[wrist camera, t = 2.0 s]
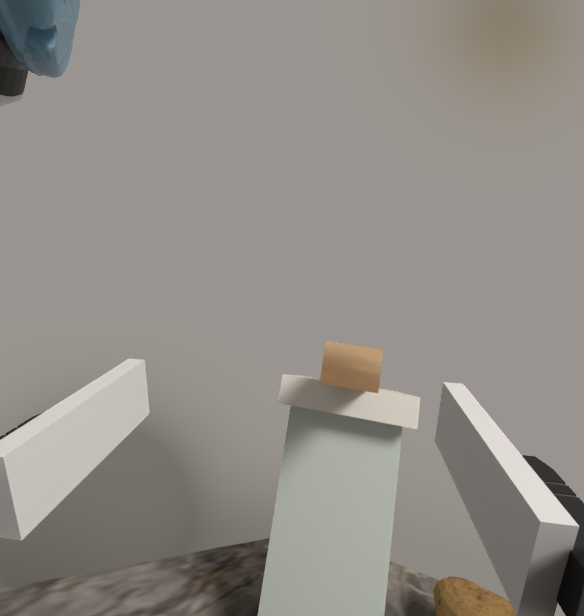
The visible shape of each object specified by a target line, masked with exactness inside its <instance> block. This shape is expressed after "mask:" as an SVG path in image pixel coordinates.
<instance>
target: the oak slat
mask: <svg viewBox="0 0 584 616" xmlns="http://www.w3.org/2000/svg"><path fill="white" fill-rule="evenodd" d="M382 355H383V349H377V348H370V347H363V346H357V345H350V344H343V343H336V342H329V341H326V344H325V351H324V357H323V365H322V371H321V378H320V383H321V384H326V385H332V386H338V387H344V388H350V389H355V390H361V391H367V392H373V393H378V391H379V382H380V373H381V364H382Z"/></svg>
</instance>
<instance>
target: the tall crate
mask: <svg viewBox="0 0 584 616" xmlns="http://www.w3.org/2000/svg"><path fill="white" fill-rule="evenodd" d="M278 403H281V404H287V405H291V408H290V415H289V421H288V427H287V433H286V440H285V446H284V452H283V459H282V465H281V471H280V477H279V484H278V490H277V496H276V502H275V509H274V515H273V521H272V528H271V535H270V540H269V546H268V553H267V559H266V565H265V572H264V578H263V584H262V591H261V597H260V603H259V609H258V616H384V612H385V602H386V591H387V581H388V570H389V560H390V550H391V539H392V528H393V518H394V508H395V497H396V487H397V476H398V467H399V456H400V446H401V435H402V426H403V427H408V428H414V429H417V428H418V417H419V406H420V397H415V396H412V395H408V394H404V393H400V392H396V391H391V390H385V389H379V391H378V393H373V392H367V391H361V390H355V389H350V388H344V387H338V386H332V385H326V384H321V383H320V378H314V377H309V376H299V375H286V374H283V376H282V382H281V388H280V394H279V400H278Z"/></svg>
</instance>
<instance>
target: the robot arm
mask: <svg viewBox="0 0 584 616" xmlns="http://www.w3.org/2000/svg"><path fill="white" fill-rule="evenodd" d="M79 6H80V0H0V106H1V105H5V104H8V103H12V102H15V101H19V100H20V99H21V98H22V97H23V92H24V88H25V83H26V79H27V74H28V70H29V71H31V72H32V73H35V74H37V75H38V76H42V75H46V76H49V77H53V78H55V77H59V76H61V75H62V74H63V72H64V71H65V69H66V67H67V65H68V62H69V58H70V55H71V51H72V42H73V37H74V30H75V25H76V22H77V19H78V13H79ZM148 414H149V402H148V392H147V380H146V370H145V360H140V359H128V360H126V361H125V362H123V363H121V364H120V365H118V366H117V367H115V368H114V369H112V370H110V371H109V372H107V373H106V374H104V375H102V376H101V377H99V378H98V379H96V380H94V381H93V382H91V383H90V384H88V385H87V386H85V387H83V388H82V389H80V390H79V391H77V392H75V393H74V394H72V395H71V396H69V397H68V398H66V399H64V400H63V401H61V402H60V403H58V404H56V405H55V406H53V407H52V408H50V409H48V410H47V411H45V412H43V413H41V414H38V415H36V416H34V417H32V418H30V419H28V420H27V421H25V422H24V423H22V424H20V425H19V426H18V428H14V429H12V430H11V431H9V432H7V433H6V435H3V436H1V437H0V537H2V538H8V539H15V540H23V539H24V538H25V537H26V536H27V535H28V534H29V533H30V532H31V531H32V530H33V529H34V528H35V527H36V526H37V525H38V524H39V523H40V522H41V521H42V520H43V518H45V517H46V516H47V515H48V514H49V513H50V512H51V511H52V510H53V509H54V508H55V507H56V506H57V505H58V504H59V503H60V502H61V501H62V500H63V499H64V498H65V497H66V496H67V495H68V494H69V493H70V492H71V491H72V490H73V489H74V488H75V487H76V486H77V485H78V484H79V483H80V482H81V481H82V480H83V479H84V478H85V477H86V476H87V475H88V474H89V473H90V472H91V471H92V470H93V469H94V468H95V467H96V466H97V465H98V464H99V463H100V462H101V461H102V460H103V459H104V458H105V457H106V456H107V455H108V454H109V453H110V452H111V451H112V450H113V449H114V448H115V447H116V446H117V445H118V444H119V443H120V442H121V441H122V440H123V439H124V438H125V437H126V436H127V435H128V434H129V433H130V432H131V431H132V430H133V429H134V428H135V427H136V426H137V425H138V424H139V423H140V422H141V421H142V420H143V419H144V418H145V417H146V416H147V415H148ZM435 442H436V444H437V446H438V449H439V450H440V452H441V455H442V457H443V459H444V461H445V464H446V466H447V468H448V470H449V472H450V474H451V476H452V479H453V481H454V483H455V485H456V487H457V489H458V491H459V494H460V496H461V498H462V500H463V502H464V504H465V506H466V509H467V511H468V513H469V515H470V517H471V519H472V522H473V523H474V526H475V528H476V530H477V532H478V534H479V537H480V539H481V541H482V543H483V545H484V547H485V549H486V552H487V554H488V556H489V558H490V560H491V562H492V564H493V567H494V569H495V571H496V573H497V575H498V577H499V579H500V581H501V584H502V586H503V588H504V590H505V592H506V595H507V597H508V599H509V601H510V603H511V605H512V607H513V610H514V612H515V614H516V616H554V613H555V610H556V606H557V603H559V605H560V606H561V608H562V610H563V612H564V613H565V615H566V616H584V503H583V502H582V501H581V500H580V499H579V498H577V497H576V494H575V493H574V492H573V491H572V490H571V489H570V488H569V486H566V484H565V482H564V481H563V480H562V479H561V478H560V476H559V475H558V474H557V473H556V472H555V471H554V470H553V469H552V468H550V467H549V466H548V465H546V464H545V463H544V462H542V461H541V460H539V459H538V458H536V457H534V456H524V455H521V454H520V453H519V452H518V451H517V449H516V448H515V447H514V446H513V444H512V443H511V442H510V441H509V440H508V438H507V437H506V436H505V435H504V434H503V432H502V431H501V430H500V429H499V427H498V426H497V425H496V424H495V422H494V421H493V420H492V419H491V418H490V416H489V415H488V414H487V413H486V411H485V410H484V409H483V408H482V407H481V405H480V404H479V403H478V402H477V400H476V399H475V398H474V397H473V396H472V394H471V393H470V392H469V391H468V390H467V388H466V387H465V386H464V384H458V383H446V382H443V388H442V395H441V403H440V409H439V416H438V423H437V430H436V437H435Z"/></svg>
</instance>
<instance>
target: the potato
mask: <svg viewBox="0 0 584 616" xmlns="http://www.w3.org/2000/svg"><path fill="white" fill-rule="evenodd" d="M434 599H435V608H436V616H516V614H515V612H514V610H513V607H512V605H511V603H510V602H509V601H508V600H506V599H505V598H503V597H501V596H499V595H497V594H495V593H493V592H491V591H489V590H486V589H484V588H482V587H480V586H478V585H477V584H475V583H473V582H471V581H469V580H467V579H463V578H459V577H448V578H444V579H442V580H440V581H438V582H437V584H436V586H435V588H434Z"/></svg>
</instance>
